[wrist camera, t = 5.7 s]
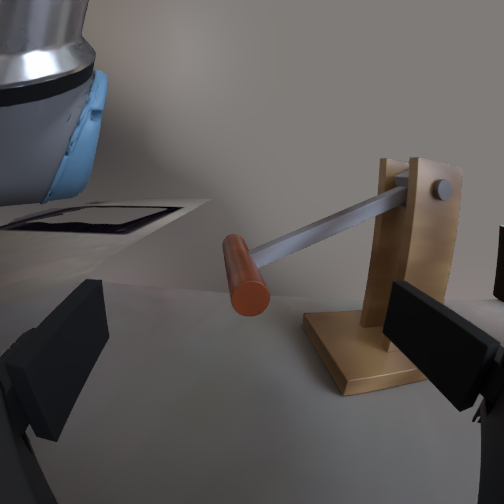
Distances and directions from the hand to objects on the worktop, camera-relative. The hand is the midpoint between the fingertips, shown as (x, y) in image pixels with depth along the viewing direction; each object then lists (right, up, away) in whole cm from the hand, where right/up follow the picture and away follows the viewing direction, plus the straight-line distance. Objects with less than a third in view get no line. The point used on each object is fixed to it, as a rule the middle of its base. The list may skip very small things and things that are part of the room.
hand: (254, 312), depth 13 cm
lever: (+6, +4, +7) cm, 10 cm away
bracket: (+11, -5, +10) cm, 16 cm away
